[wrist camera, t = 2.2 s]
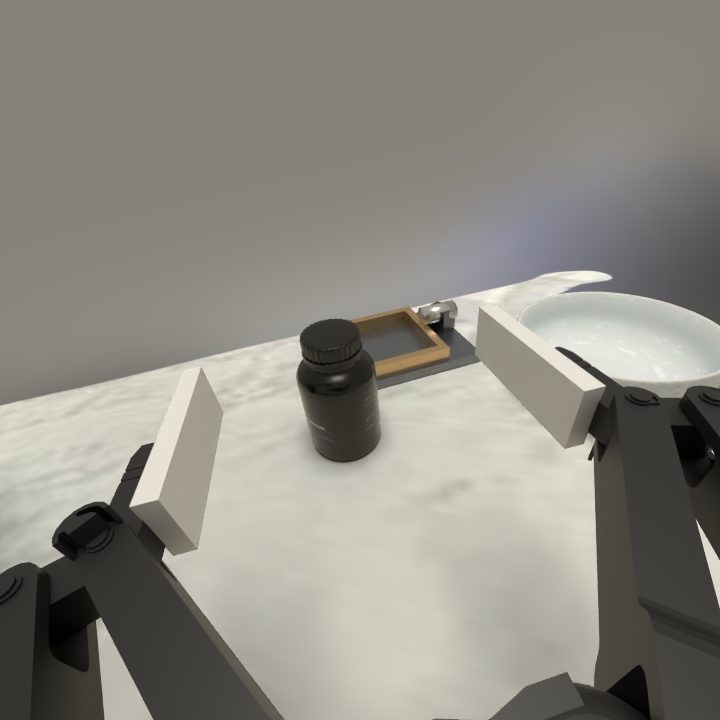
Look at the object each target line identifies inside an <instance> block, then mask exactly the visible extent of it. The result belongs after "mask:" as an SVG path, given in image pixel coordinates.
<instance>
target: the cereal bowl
mask: <svg viewBox="0 0 720 720" xmlns="http://www.w3.org/2000/svg"><path fill="white" fill-rule="evenodd" d="M517 321H518V322H519V323H521V324H522V325H524V326H525V327H526V328H528V329H529V330H530V331H532V332H533V333H534V334H536V335H537V336H539V337H540V338H541V339H543V340H544V341H545V342H547V343H548V344H549V345H551V346H552V347H554V348H555V347H562V348H565V349H567V350H570V351H572V352H574V353H575V354H577V355H578V356H580V357H581V358H582V359H583V360H585V361H587V362H588V363H590V364H591V366H594V367H595V368H597V369H598V370H600V371H601V372H602V373H604V374H605V375H607V376H608V377H610V378H611V379H612V380H614V381H615V382H617V383H618V384H620V385H621V386H622V387H626V386H632V387H639V388H643V389H647V390H649V391H651V392H653V393H655V394H656V395H658V396H659V397H660V398H682V397H683V396H684V394H685V392H686V390H687V389H688V388H689V387H692V386H700V385H702V386H709V387H714V388H719V387H720V326H718V325H717V324H716V323H714V322H712V321H711V320H709V319H707V318H705V317H703V316H701V315H699V314H697V313H694V312H692V311H690V310H687V309H684V308H681V307H679V306H675V305H673V304H669V303H666V302H663V301H658V300H654V299H650V298H645V297H640V296H634V295H628V294H620V293H609V292H575V293H566V294H559V295H554V296H550V297H547V298H543V299H540V300H538V301H536V302H534V303H532V304H530V305H529V306H527V307H526V308H525V309H524V310H523V311H522V312H521V313H520V315H519V317H518V319H517Z"/></svg>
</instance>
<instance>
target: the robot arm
mask: <svg viewBox="0 0 720 720" xmlns="http://www.w3.org/2000/svg"><path fill="white" fill-rule="evenodd" d="M475 355H476V356H477V357H478V358H479V359H480V360H481V361H482V362H483V363H484V364H485V365H486V366H487V367H488V369H489V370H490V371H491V372H492V373H493V374H494V375H495V376H496V377H497V378H498V379H499V380H500V381H501V382H502V383H503V384H504V385H505V386H506V387H507V389H508V390H509V391H510V392H511V393H512V394H513V395H514V396H515V397H516V398H517V399H518V400H519V401H520V402H521V403H522V404H523V405H524V406H525V407H526V409H527V410H528V411H529V412H530V413H531V414H532V415H533V416H534V417H535V418H536V419H537V420H538V421H539V422H540V423H541V424H542V425H543V426H544V428H545V429H546V430H547V431H548V432H549V433H550V434H551V435H552V436H553V437H554V438H555V439H556V440H557V441H558V442H559V443H560V444H561V445H562V446H563V448H564V449H566V448H570V447H573V446H577V445H581V444H584V441H585V439H586V436H587V433H588V432H589V433H590V434H591V435H592V436H593V437H594V438H595V439H596V440H595V442H594V445H593V447H592V450H591V452H590V454H589V457H588V460H590V461H591V460H592V458H593V456H594V481H595V512H596V544H597V575H598V607H599V638H600V639H599V652H598V656H597V661H596V665H595V674H594V687H592V686H589V685H584V684H579V683H573V682H572V680H571V678H570V677H569V675H568V673H567V672H566V673H563V674H560V675H557V676H554V677H551V678H549V679H546V680H543V681H540V682H537V683H535V684H532V685H529V686H526V687H525V688H524V689H523V690H521V691H520V692H519V693H518V694H517V695H516V696H515V697H514V698H513V699H512V700H511V701H509V702H508V703H507V704H506V705H505V706H504V707H503V708H502V709H501V710H500V711H498V712H497V713H496V714H495V715H494V716H493V717H492V718H490V719H489V720H720V608H719V604H718V600H717V597H716V593H715V589H714V585H713V582H712V578H711V574H710V571H709V567H708V563H707V559H706V556H705V552H704V548H703V544H702V541H701V537H700V533H699V530H698V526H697V522H696V520H697V521H698V523H699V525H700V527H701V528H702V530H703V532H704V533H705V535H706V537H707V539H708V540H709V542H710V544H711V546H712V547H713V549H714V551H715V553H716V554H717V556H718V558H719V560H720V389H717V388H714V387H709V386H702V385H700V386H692V387H689V388H688V389H687V390H686V392H685V394H684V396H683V397H682V398H660V397H659V396H658V395H656V394H655V393H653V392H651V391H649V390H647V389H643V388H639V387H632V386H626V387H622V386H621V385H620V384H618V383H617V382H615V381H614V380H612V379H611V378H610V377H608V376H607V375H605V374H604V373H602V372H601V371H600V370H598V369H597V368H595V367H594V366H591V364H590V363H588V362H587V361H585V360H583V359H582V358H581V357H580V356H578V355H577V354H575V353H574V352H572V351H570V350H567V349H565V348H562V347H555V348H554V347H552V346H551V345H549V344H548V343H547V342H545V341H544V340H543V339H541V338H540V337H539V336H537V335H536V334H534V333H533V332H532V331H530V330H529V329H528V328H526V327H525V326H524V325H522V324H521V323H519V322H518V321H517V320H515V319H514V318H513V317H511V316H510V315H509V314H507V313H506V312H504V311H503V310H502V309H500V308H499V307H498V306H496V305H495V304H491V305H486V306H482V307H479V316H478V327H477V338H476V348H475ZM222 417H223V411H222V409H221V407H220V405H219V402H218V400H217V398H216V396H215V394H214V392H213V390H212V388H211V386H210V384H209V382H208V380H207V378H206V376H205V374H204V371H203V369H202V367H198V368H193V369H188V370H184V371H183V372H182V375H181V378H180V380H179V383H178V385H177V388H176V390H175V393H174V395H173V398H172V400H171V403H170V405H169V408H168V410H167V413H166V415H165V418H164V420H163V423H162V425H161V428H160V430H159V433H158V435H157V438H156V440H155V443H150V444H146V445H142V446H141V447H140V448H139V449H138V451H137V452H136V453H135V454H134V455H133V456H132V457H131V459H130V461H129V464H128V466H127V468H126V470H125V471H126V473H124V475H123V477H122V479H121V483H120V484H119V486H118V488H117V490H116V492H115V495H114V497H113V499H112V501H111V503H110V506H109V505H108V504H106V503H105V502H93V503H90V504H87V505H84V506H83V507H81V508H79V509H77V510H76V511H74V512H73V513H72V514H70V515H69V516H68V517H67V518H66V519H64V520H63V522H62V523H61V524H60V525H59V527H58V528H57V529H56V531H55V533H54V535H53V538H52V546H53V547H54V548H56V549H57V550H58V551H60V552H61V553H62V554H63V555H65V556H64V557H62V558H60V559H58V560H56V561H54V562H52V563H50V564H48V565H47V566H45V567H43V568H39V567H38V566H37V565H35V564H32V563H30V562H27V563H21V564H18V565H16V566H14V567H11V568H9V569H7V570H6V571H4V572H3V573H2V574H0V720H104V709H103V697H102V686H101V674H100V663H99V651H98V640H97V628H96V620H97V619H99V618H100V617H101V618H102V620H103V622H104V624H105V626H106V628H107V630H108V632H109V634H110V636H111V638H112V640H113V641H114V643H115V645H116V647H117V649H118V651H119V653H120V655H121V657H122V659H123V661H124V663H125V665H126V667H127V669H128V671H129V673H130V675H131V677H132V679H133V680H134V682H135V684H136V686H137V688H138V690H139V692H140V694H141V696H142V698H143V700H144V702H145V704H146V706H147V708H148V710H149V712H150V714H151V716H152V718H153V720H284V719H283V717H282V716H281V715H280V713H279V712H278V711H277V709H276V708H275V707H274V705H273V704H272V703H271V702H270V700H269V699H268V698H267V696H266V695H265V694H264V692H263V691H262V690H261V688H260V687H259V686H258V685H257V683H256V682H255V681H254V679H253V678H252V677H251V675H250V674H249V673H248V671H247V670H246V669H245V668H244V666H243V665H242V664H241V662H240V661H239V660H238V658H237V657H236V656H235V654H234V653H233V652H232V650H231V649H230V648H229V647H228V645H227V644H226V643H225V641H224V640H223V639H222V637H221V636H220V635H219V633H218V632H217V631H216V630H215V628H214V627H213V626H212V624H211V623H210V622H209V620H208V619H207V618H206V616H205V615H204V614H203V613H202V611H201V610H200V609H199V607H198V606H197V605H196V603H195V602H194V601H193V599H192V598H191V597H190V596H189V594H188V593H187V592H186V590H185V589H184V588H183V586H182V585H181V584H180V582H179V581H178V580H177V578H176V577H175V576H174V575H173V573H172V572H171V571H170V569H169V568H168V567H167V565H166V564H165V563H164V562H163V561H162V557H163V553H164V549H165V547H166V548H167V549H168V551H169V552H170V553H171V554H172V555H173V556H174V555H178V554H181V553H185V552H189V551H192V550H196V549H198V545H199V539H200V534H201V529H202V523H203V518H204V513H205V507H206V502H207V497H208V491H209V486H210V481H211V475H212V470H213V465H214V459H215V454H216V449H217V443H218V438H219V433H220V427H221V422H222ZM711 450H713V452H714V454H713V453H712V452H711ZM714 455H715V456H714ZM433 720H458V719H433Z"/></svg>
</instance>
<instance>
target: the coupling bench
mask: <svg viewBox="0 0 720 720" xmlns="http://www.w3.org/2000/svg"><path fill="white" fill-rule="evenodd" d="M457 313H458V310H457V306H456V304H455V302H454V301H452V300H451V301H447V302H442V303H441V302H438V301H437V302H435V303H433V304H431V305H430V306H425V307H421V308H419V310H418V313H415V312H414V311H413V310H412V309H411V308H410V307H405V308H401V309H397V310H392V311H388V312H384V313H380V314H375V315H371V316H367V317H363V318H359V319H354V320H350V321H351V322H353V323H354V324H355V325H357V327H358V328H359V332H360V339H361V342H362V349H364V350H365V351H366V352H367V353H368V354H369V355H370V356H371V357H372V359H373V361H374V364H375V369H376V380H377V390H378V389H381V388H385V387H389V386H392V385H396V384H399V383H403V382H407V381H410V380H414V379H417V378H421V377H425V376H428V375H432V374H436V373H439V372H443V371H446V370H450V369H454V368H457V367H461V366H465V365H468V364H472V363H475V362H479V361H481V360H480V359H479V358H478V357H477V356H476V355H475V347H474V346H473V345H472V344H471V343H470V342H469V341H467V340H466V339H465V338H464V337H463V336H462V335H461V334H460V333H458V332H457V331H456V330H455V329H454V328H453V327H454V322H455V318H456V317H457ZM300 345H301V344H300ZM301 349H302V348H301Z"/></svg>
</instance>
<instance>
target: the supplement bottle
mask: <svg viewBox="0 0 720 720" xmlns="http://www.w3.org/2000/svg"><path fill="white" fill-rule="evenodd" d="M300 344H301V348H302V356H303V360H302V361H301V362H300V364H299V366H298V369H297V374H296V378H297V384H298V388H299V392H300V395H301V399H302V403H303V407H304V410H305V414H306V418H307V422H308V426H309V429H310V433H311V436H312V440H313V443H314V445H315V447H316V448H317V450H318V451H319V452H320V453H321V454H323V455H324V456H326V457H328V458H330V459H333V460H339V461H347V460H353V459H357V458H359V457H361V456H363V455H365V454H367V453H368V452H369V451H370V450H371V449H372V448H373V447H374V446H375V445H376V443H377V441H378V439H379V436H380V416H379V404H378V392H377V380H376V369H375V364H374V361H373V359H372V357H371V356H370V355H369V354H368V353H367V352H366V351H365V350H364V349H362V342H361V339H360V332H359V328H358V327H357V325H355V324H354V323H353V322H351V321H348V320H343V319H328V320H324V321H319V322H316V323H314V324H311V325H310V326H309V327H307V328H306V329H304V330H303V332H302V333H301V335H300Z"/></svg>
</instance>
